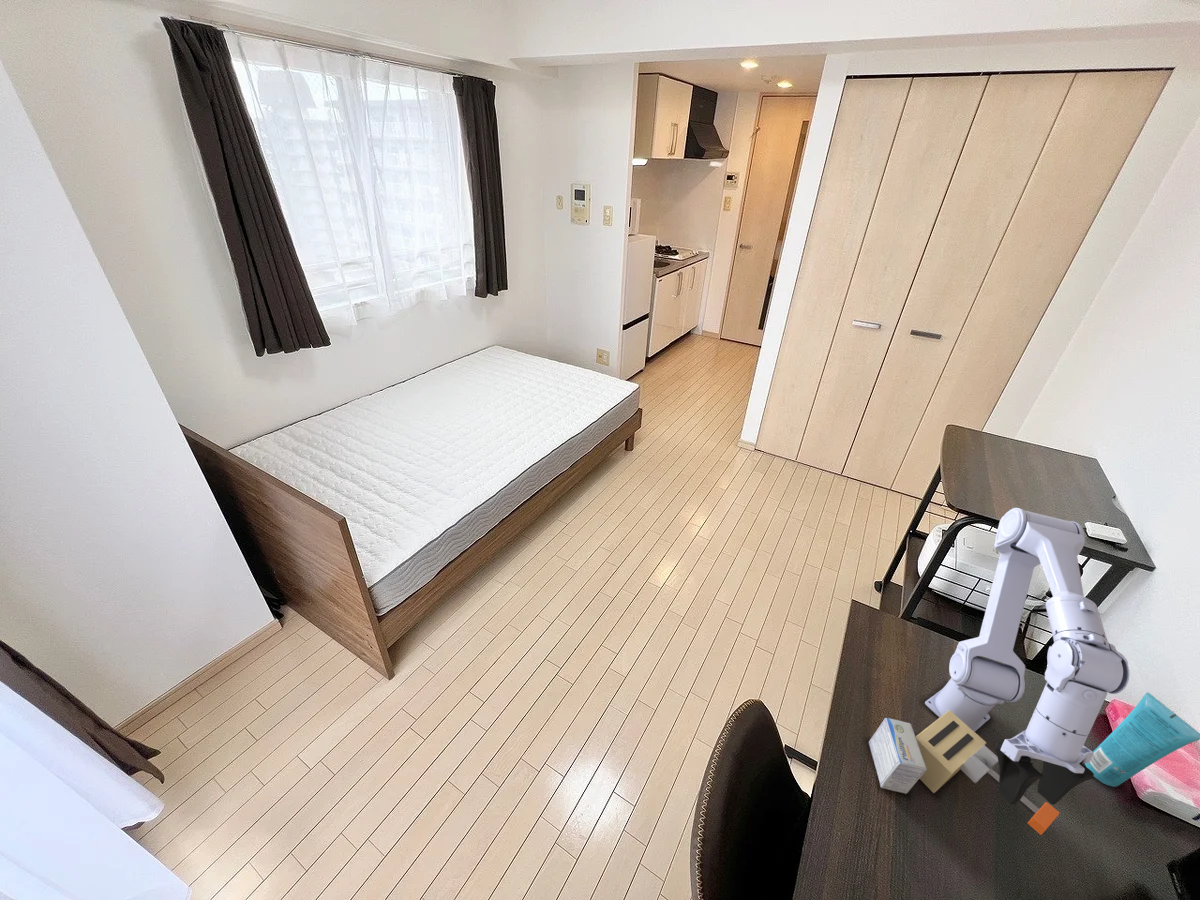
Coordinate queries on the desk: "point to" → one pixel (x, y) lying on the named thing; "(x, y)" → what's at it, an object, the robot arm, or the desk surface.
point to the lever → (1031, 807)
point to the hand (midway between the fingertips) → (1026, 798)
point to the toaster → (952, 751)
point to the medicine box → (897, 756)
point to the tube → (1140, 742)
